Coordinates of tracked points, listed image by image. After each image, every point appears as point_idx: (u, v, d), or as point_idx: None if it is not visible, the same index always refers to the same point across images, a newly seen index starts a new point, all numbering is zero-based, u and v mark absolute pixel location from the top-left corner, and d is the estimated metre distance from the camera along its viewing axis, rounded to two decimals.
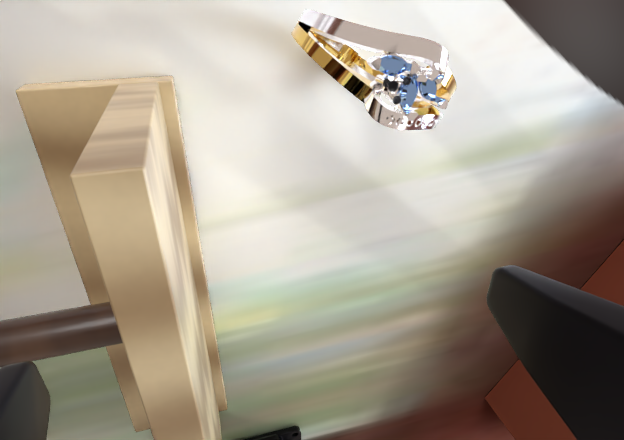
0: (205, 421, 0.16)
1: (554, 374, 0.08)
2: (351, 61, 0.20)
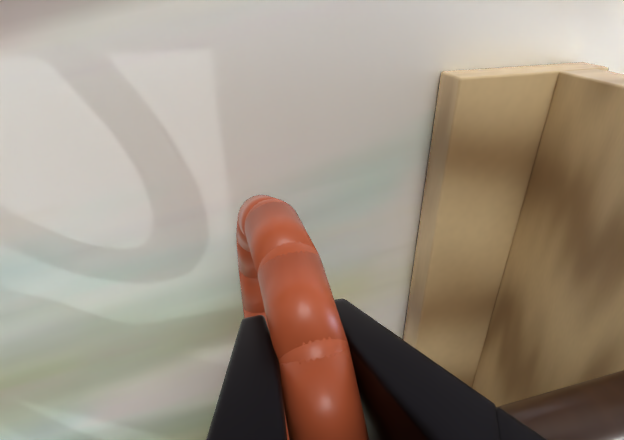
0: None
1: None
2: None
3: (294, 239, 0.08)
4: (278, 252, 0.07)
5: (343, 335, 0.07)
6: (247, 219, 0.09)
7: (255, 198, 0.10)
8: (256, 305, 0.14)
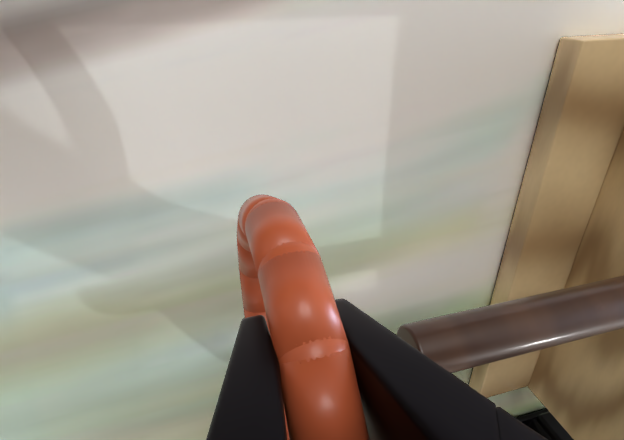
0: None
1: None
2: None
3: (294, 239, 0.08)
4: (278, 252, 0.07)
5: (343, 335, 0.07)
6: (247, 218, 0.09)
7: (255, 198, 0.10)
8: (256, 305, 0.14)
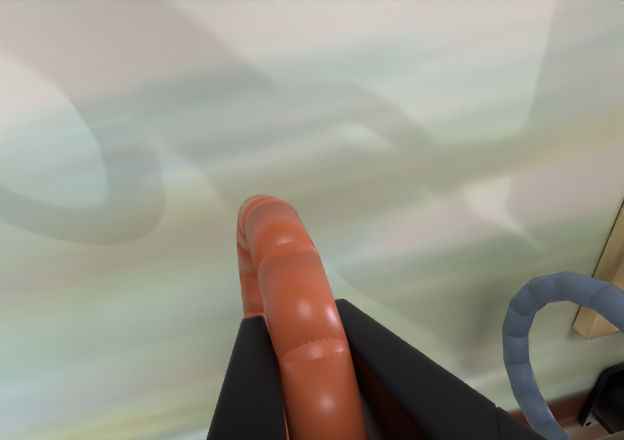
0: None
1: None
2: None
3: (294, 239, 0.08)
4: (278, 252, 0.07)
5: (343, 335, 0.07)
6: (247, 218, 0.09)
7: (255, 198, 0.10)
8: (256, 305, 0.13)
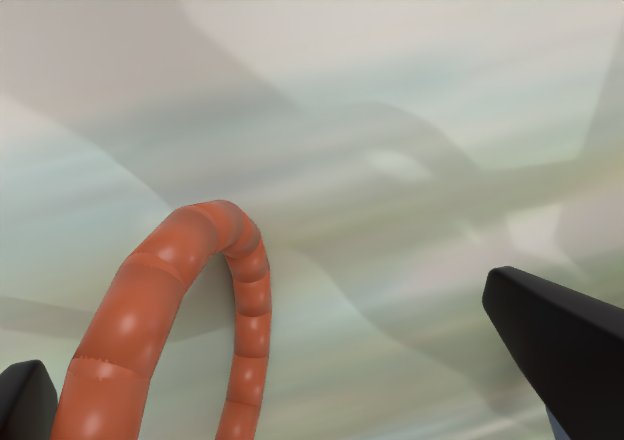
0: None
1: (549, 375, 0.08)
2: None
3: (157, 251, 0.07)
4: (130, 260, 0.07)
5: (132, 364, 0.06)
6: None
7: (205, 202, 0.10)
8: (241, 307, 0.13)
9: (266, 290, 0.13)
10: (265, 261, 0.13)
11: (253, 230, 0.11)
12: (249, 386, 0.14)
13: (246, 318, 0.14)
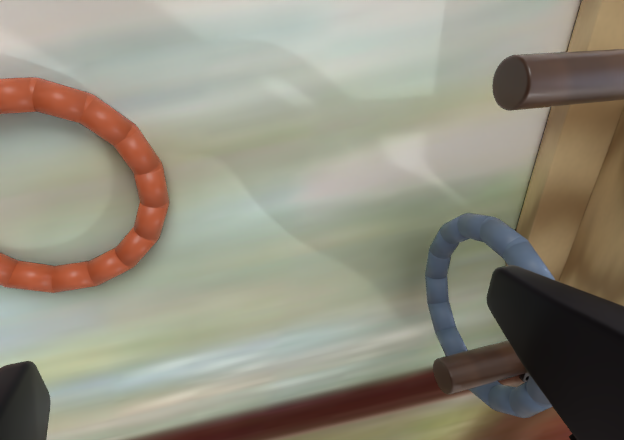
0: None
1: (554, 374, 0.08)
2: None
3: None
4: None
5: None
6: None
7: None
8: None
9: (145, 188, 0.18)
10: (137, 162, 0.17)
11: (106, 125, 0.16)
12: (123, 245, 0.19)
13: None
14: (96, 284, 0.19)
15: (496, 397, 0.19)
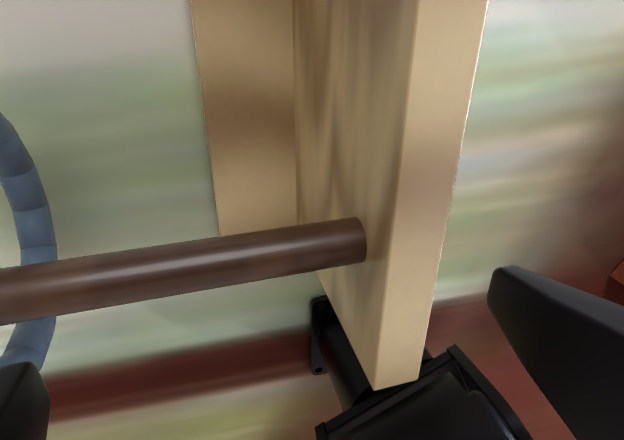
0: None
1: (554, 374, 0.08)
2: None
3: None
4: None
5: None
6: None
7: None
8: None
9: None
10: None
11: None
12: None
13: None
14: None
15: None
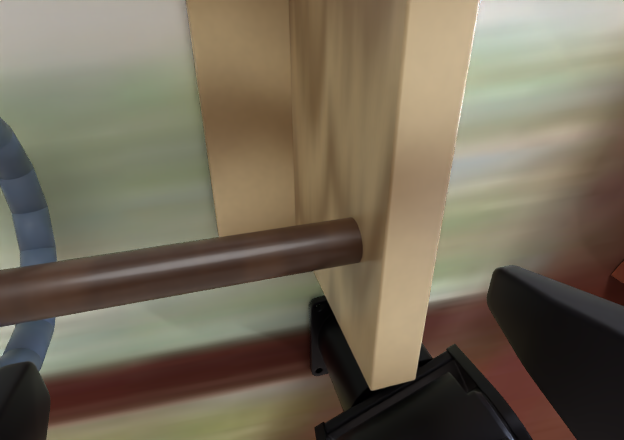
0: None
1: (554, 374, 0.08)
2: None
3: None
4: None
5: None
6: None
7: None
8: None
9: None
10: None
11: None
12: None
13: None
14: None
15: None
